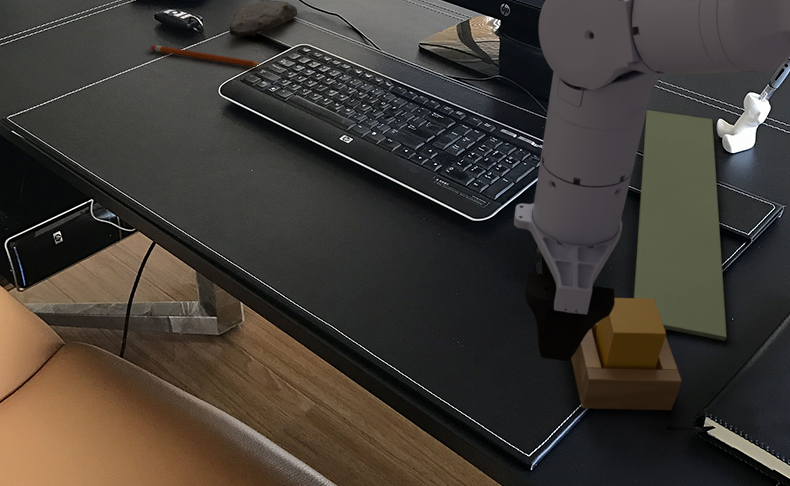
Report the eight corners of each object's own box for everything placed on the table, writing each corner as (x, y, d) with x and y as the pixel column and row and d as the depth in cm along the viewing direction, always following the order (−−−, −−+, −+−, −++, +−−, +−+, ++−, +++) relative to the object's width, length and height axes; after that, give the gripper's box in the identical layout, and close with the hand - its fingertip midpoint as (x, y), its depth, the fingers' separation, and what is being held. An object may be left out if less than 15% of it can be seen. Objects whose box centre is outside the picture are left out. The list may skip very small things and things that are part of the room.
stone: (289, 8, 125) (302, -11, 121) (302, 42, 124) (315, 25, 120) (213, 10, 118) (224, -10, 114) (226, 46, 117) (238, 28, 113)
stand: (671, 410, 63) (682, 381, 61) (581, 408, 63) (589, 379, 61) (650, 345, 69) (659, 316, 66) (567, 343, 69) (573, 314, 66)
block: (647, 394, 64) (666, 333, 60) (598, 393, 64) (614, 332, 60) (636, 358, 67) (653, 298, 63) (589, 357, 67) (603, 297, 63)
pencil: (154, 48, 114) (153, 44, 113) (267, 67, 109) (266, 62, 109) (151, 51, 113) (150, 46, 113) (264, 69, 109) (264, 65, 108)
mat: (725, 340, 69) (726, 336, 69) (632, 322, 71) (633, 318, 70) (711, 122, 99) (712, 119, 99) (646, 113, 101) (647, 109, 101)
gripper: (528, 101, 56) (508, 250, 64) (515, 222, 44) (493, 383, 53) (630, 111, 55) (596, 261, 63) (643, 237, 43) (600, 399, 52)
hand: (556, 318), depth 58 cm, fingers open, 7 cm apart
